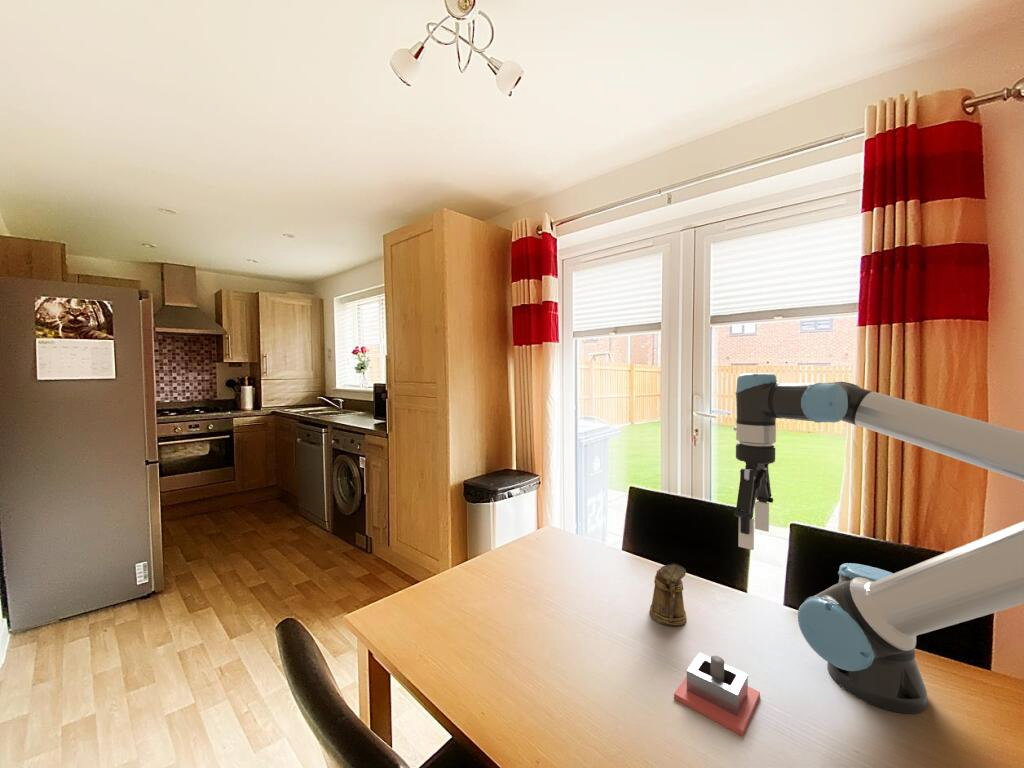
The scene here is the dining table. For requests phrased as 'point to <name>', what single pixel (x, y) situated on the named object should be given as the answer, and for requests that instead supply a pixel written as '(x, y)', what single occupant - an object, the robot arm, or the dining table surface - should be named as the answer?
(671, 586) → the wooden mug
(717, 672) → the stand
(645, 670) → the dining table surface
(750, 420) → the robot arm
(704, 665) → the link
